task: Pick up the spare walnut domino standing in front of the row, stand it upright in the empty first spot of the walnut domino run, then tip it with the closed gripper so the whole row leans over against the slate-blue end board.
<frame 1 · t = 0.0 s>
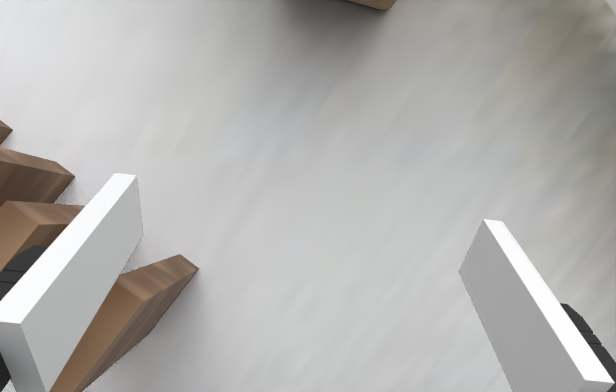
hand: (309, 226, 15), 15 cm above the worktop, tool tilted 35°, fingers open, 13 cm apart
domino 4: (39, 200, 29), on the worktop
domino 3: (101, 247, 29), on the worktop
domino 2: (164, 293, 29), on the worktop
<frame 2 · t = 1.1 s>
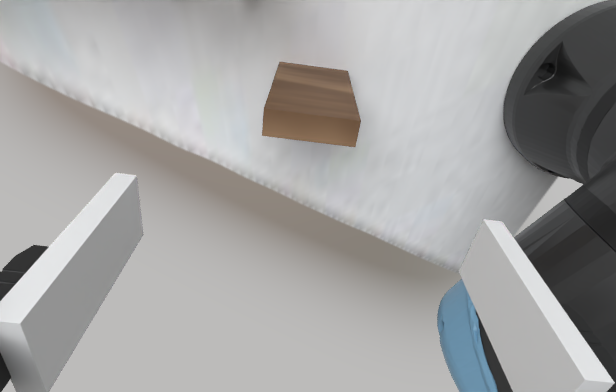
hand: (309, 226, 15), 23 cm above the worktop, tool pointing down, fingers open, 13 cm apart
loose domino: (312, 76, 34), on the worktop
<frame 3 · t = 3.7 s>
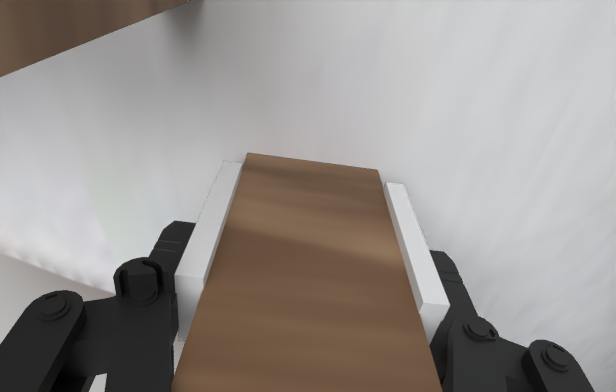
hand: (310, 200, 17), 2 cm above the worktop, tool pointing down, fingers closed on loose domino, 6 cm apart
loose domino: (310, 178, 18), on the worktop, touching gripper
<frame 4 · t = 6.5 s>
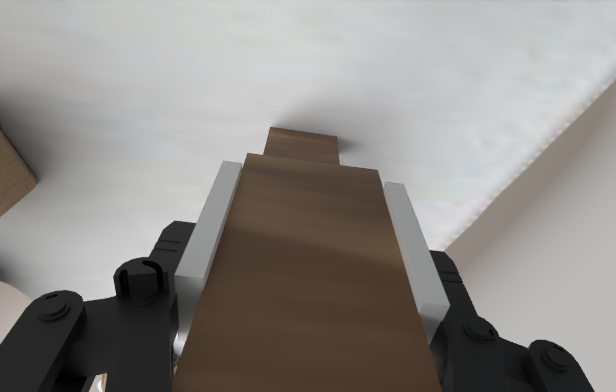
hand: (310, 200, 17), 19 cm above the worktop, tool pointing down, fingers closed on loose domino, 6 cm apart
loose domino: (310, 178, 18), point 17 cm above the worktop, touching gripper
domino 2: (302, 141, 35), on the worktop
when the fingers open (3 cm above the worktop, at t = 9.3 s): loose domino stays where it is, on the worktop.
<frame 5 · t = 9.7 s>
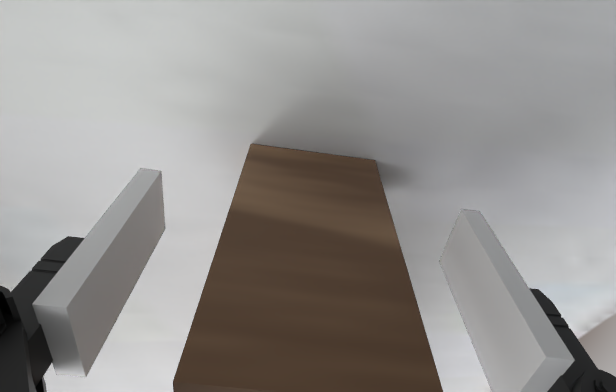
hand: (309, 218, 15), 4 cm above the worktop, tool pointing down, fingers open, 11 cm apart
loose domino: (310, 168, 19), on the worktop
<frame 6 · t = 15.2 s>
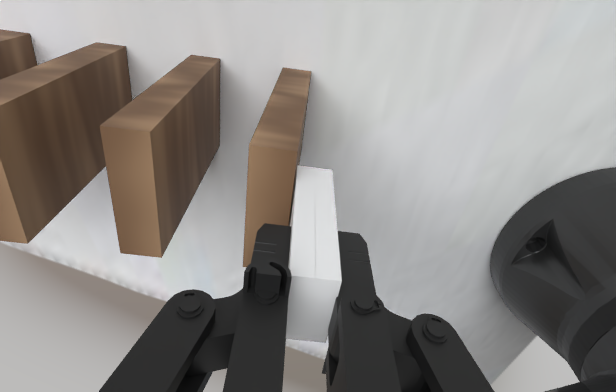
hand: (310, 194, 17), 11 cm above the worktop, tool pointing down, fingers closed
domino 4: (27, 80, 25), on the worktop
loose domino: (292, 114, 26), on the worktop, touching gripper
domino 3: (117, 92, 26), on the worktop
domino 2: (206, 103, 26), on the worktop
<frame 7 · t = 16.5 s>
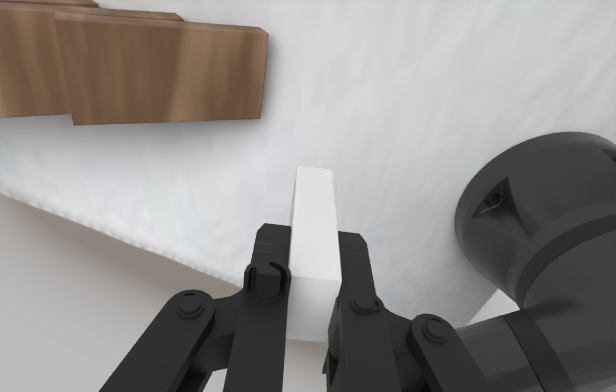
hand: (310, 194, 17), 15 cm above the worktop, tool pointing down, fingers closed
loose domino: (259, 74, 28), point 1 cm above the worktop, tilted 64°, touching domino 2
domino 3: (99, 48, 27), point 1 cm above the worktop, tilted 49°, touching domino 2, domino 4
domino 2: (180, 61, 27), point 1 cm above the worktop, tilted 58°, touching domino 3, loose domino
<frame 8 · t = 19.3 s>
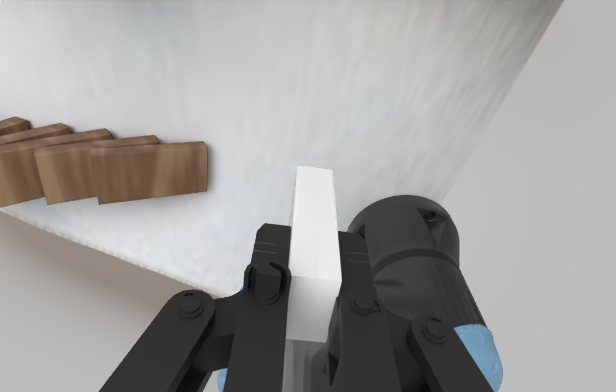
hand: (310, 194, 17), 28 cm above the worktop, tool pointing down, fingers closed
domino 5: (27, 142, 47), on the worktop, tilted 19°, touching domino 4, end board
domino 4: (69, 148, 47), on the worktop, tilted 34°, touching domino 3, domino 5
loose domino: (205, 166, 48), point 1 cm above the worktop, tilted 63°, touching domino 2
domino 3: (111, 154, 47), point 1 cm above the worktop, tilted 46°, touching domino 2, domino 4
domino 2: (157, 160, 47), point 1 cm above the worktop, tilted 56°, touching domino 3, loose domino
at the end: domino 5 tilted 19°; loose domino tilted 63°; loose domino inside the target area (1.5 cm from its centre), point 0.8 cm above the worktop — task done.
